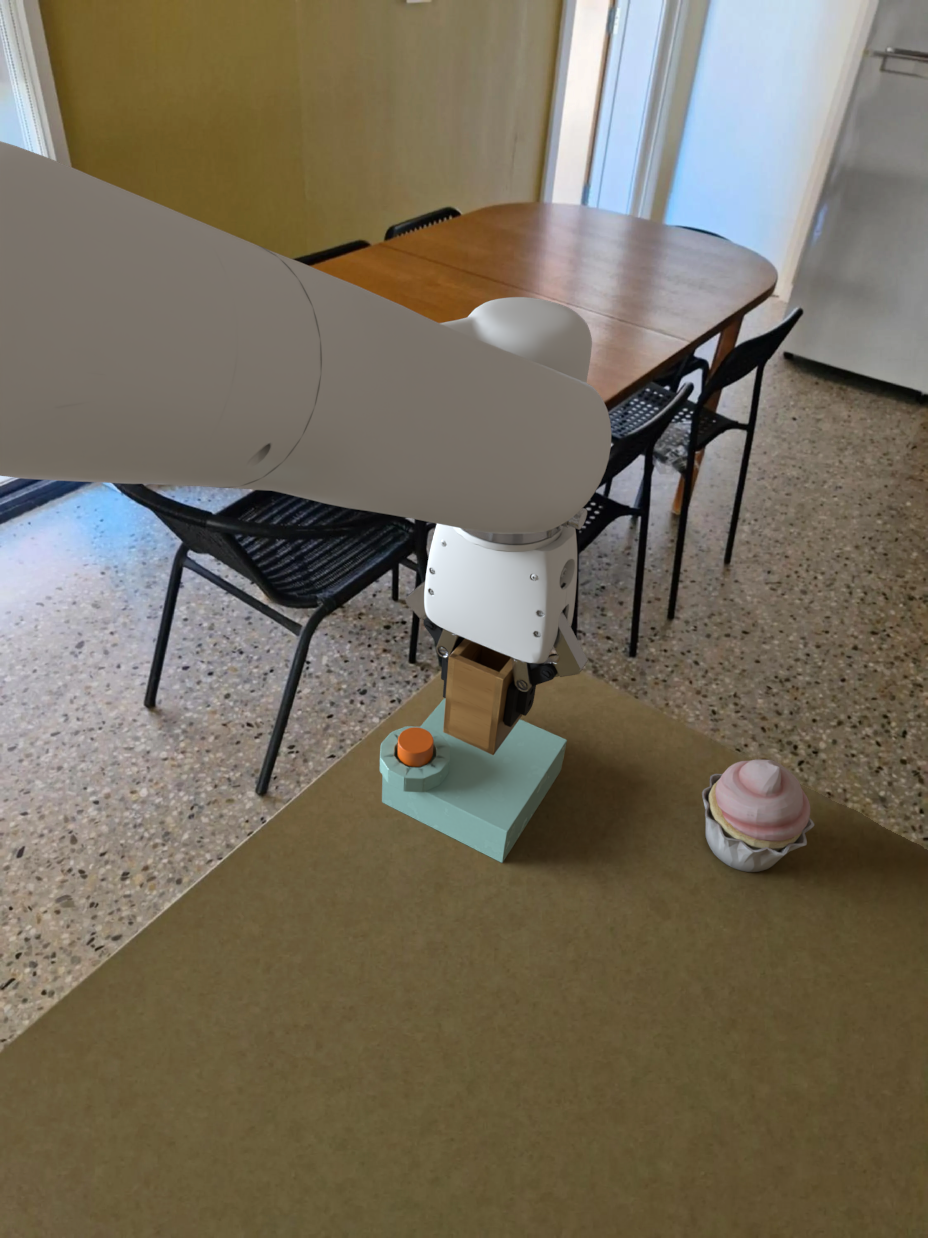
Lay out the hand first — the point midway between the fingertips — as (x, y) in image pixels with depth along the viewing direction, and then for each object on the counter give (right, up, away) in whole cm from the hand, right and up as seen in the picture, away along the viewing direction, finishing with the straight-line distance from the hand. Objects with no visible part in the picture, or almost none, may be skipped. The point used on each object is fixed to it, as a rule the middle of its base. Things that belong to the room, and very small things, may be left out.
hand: (485, 699), depth 69 cm
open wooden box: (0, -2, +2) cm, 3 cm away
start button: (-6, -5, +7) cm, 10 cm away
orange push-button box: (-1, -9, +12) cm, 15 cm away
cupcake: (+23, -13, +9) cm, 28 cm away
